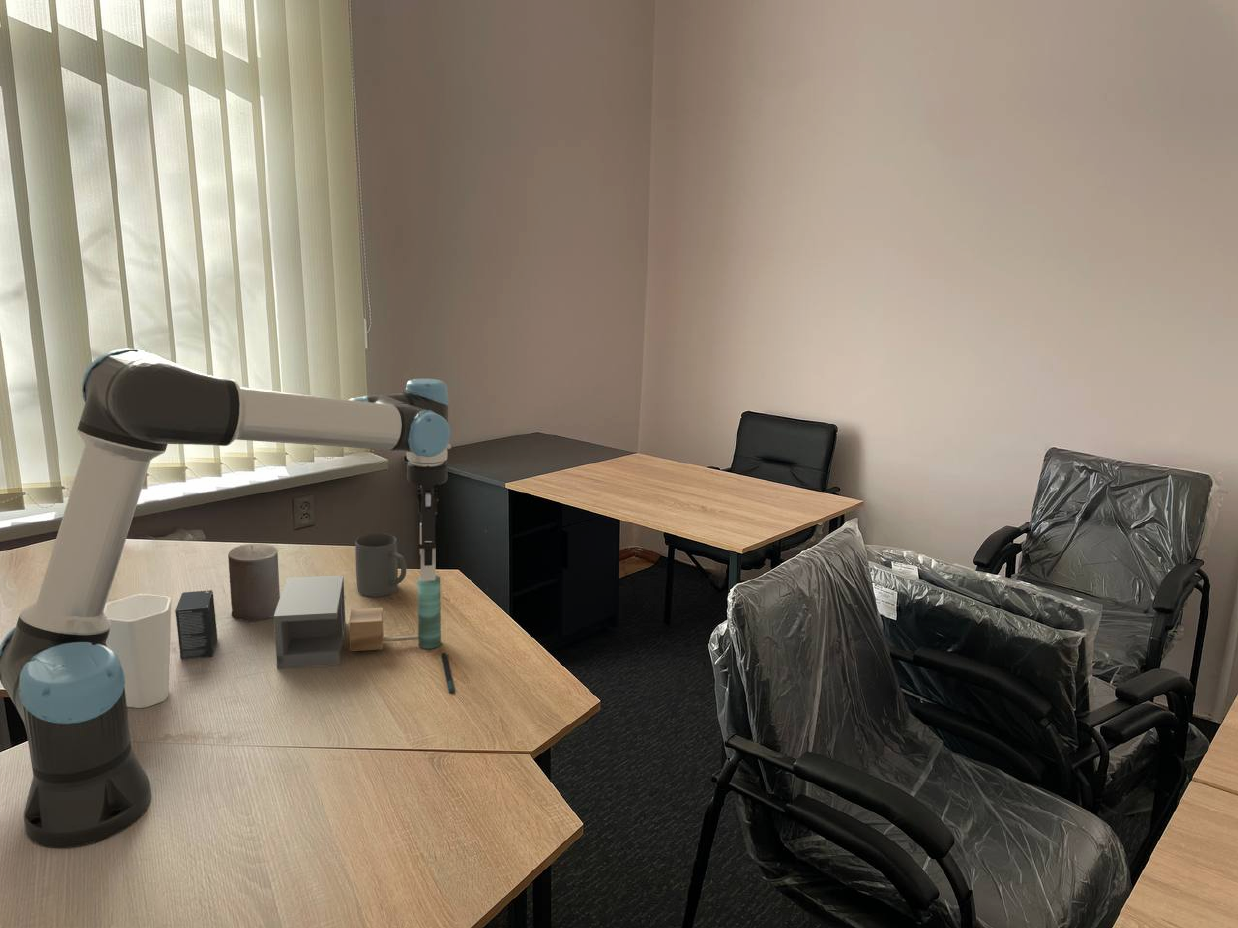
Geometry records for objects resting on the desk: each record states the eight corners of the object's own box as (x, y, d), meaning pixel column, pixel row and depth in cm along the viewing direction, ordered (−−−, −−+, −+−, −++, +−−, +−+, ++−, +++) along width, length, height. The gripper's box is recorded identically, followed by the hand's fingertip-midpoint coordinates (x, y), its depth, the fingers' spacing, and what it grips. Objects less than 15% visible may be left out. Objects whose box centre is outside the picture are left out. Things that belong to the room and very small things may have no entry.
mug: (348, 590, 196) (345, 541, 193) (378, 578, 204) (377, 530, 201) (391, 606, 189) (389, 555, 186) (420, 592, 197) (420, 543, 194)
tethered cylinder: (441, 649, 171) (440, 584, 168) (350, 655, 167) (348, 588, 164) (440, 635, 177) (439, 572, 173) (352, 641, 173) (350, 576, 169)
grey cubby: (338, 664, 164) (336, 612, 161) (277, 668, 161) (273, 616, 159) (345, 622, 181) (343, 575, 178) (289, 625, 178) (286, 577, 176)
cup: (118, 685, 153) (107, 596, 149) (182, 677, 157) (173, 590, 152) (106, 718, 143) (94, 624, 139) (175, 709, 147) (165, 617, 142)
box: (186, 641, 170) (181, 591, 167) (217, 638, 172) (213, 589, 169) (179, 660, 163) (174, 608, 160) (212, 657, 164) (208, 606, 162)
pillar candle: (221, 617, 181) (216, 550, 177) (251, 598, 190) (247, 534, 186) (262, 624, 179) (258, 557, 174) (290, 605, 188) (287, 541, 184)
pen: (446, 654, 171) (446, 649, 170) (454, 695, 156) (454, 689, 156) (440, 655, 170) (440, 649, 170) (448, 695, 156) (448, 689, 156)
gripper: (450, 479, 153) (449, 590, 158) (445, 445, 176) (444, 543, 181) (406, 479, 151) (407, 592, 156) (407, 445, 174) (407, 544, 180)
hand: (427, 566), depth 169 cm, fingers open, 13 cm apart
